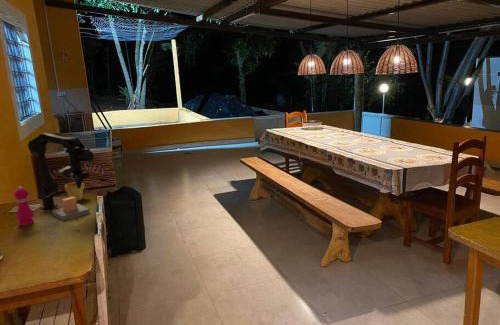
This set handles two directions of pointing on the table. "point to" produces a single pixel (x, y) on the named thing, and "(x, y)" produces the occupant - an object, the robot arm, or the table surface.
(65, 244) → the table surface
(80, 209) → the socket block
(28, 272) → the table surface
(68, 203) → the keyed peg
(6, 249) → the table surface
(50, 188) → the robot arm
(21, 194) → the pink bowling pin
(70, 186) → the plant pot
